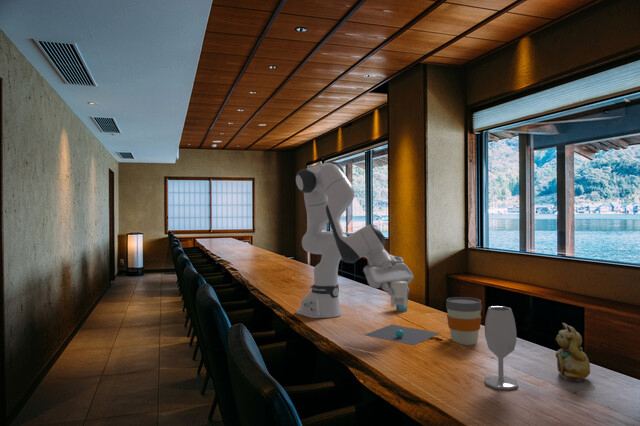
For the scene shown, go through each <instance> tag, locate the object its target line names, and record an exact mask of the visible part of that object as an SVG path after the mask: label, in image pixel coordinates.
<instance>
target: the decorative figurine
mask: <svg viewBox="0 0 640 426" xmlns="http://www.w3.org/2000/svg"><path fill="white" fill-rule="evenodd" d="M561 325H562V327H563V329H561V330H559V331H558V334H557V335H556V337H555V341H556V342H557V345H559V347H561V348H560V349H558V350H557V351H556V353H555V358H556V366H557V371H558V372H559V375H560V376H561V377H562V378H563V379H564V380H565V381H574V382H585V381H584V379H585V378H588V377H589V375H590V374H591V364H590V359H589V358H588V356H587V354H586V353H585V352H584V351H583V347H582V346H581V345H582V344H583V337H582V335H581V334H580V333H579V332H578V331H577V330H576V329H575V328H574V327H573V326H571V325H568V324H567V323H564V322H561Z"/></svg>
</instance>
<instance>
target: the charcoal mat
mask: <svg viewBox="0 0 640 426" xmlns="http://www.w3.org/2000/svg"><path fill="white" fill-rule="evenodd" d="M397 330H402V331H403V333H404V335H403V337H402V338H398V337H397V336H396V331H397ZM440 334H441V333H440V332H438V331H437V332H436V331H430V330H426V329H419V328H413V327H409V326H404V325H403V326H402V325H397V324H389V325H387V326H384V327H381V328H378V329H376V330H373V331H371V332H368V333H365V334H364V336H366V337H371V338H376V339H377V338H378V339H382V340H386V341H390V342H397V343H401V344H406V345H411V346H416V345H418V344H420V343H422V342H425V341H427V340H429V339H431V338H433V337H436V336H437V335H440Z"/></svg>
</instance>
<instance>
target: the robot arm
mask: <svg viewBox="0 0 640 426" xmlns="http://www.w3.org/2000/svg"><path fill="white" fill-rule="evenodd" d="M295 183H296V187H297V188H298V190H299V191H300V192H301V193H302V194H303V199H304V206H305V209H306V210H305V211H306V216H307V229H306V231H305V232H306V233H304V235H303V236H302V239H301V246H302V249H303V250H304V251H305V252H308V253H309V254H312V255H321V258H320V262H319V263H317V264H316V265H315V266H314V267H313V284H312V285H311V286H309V289H311V291H310V292H309V293H308V294H307V295H306V296H305V297H304V298H303V299H302V300H301V302H300V308H299V309H297V310H296V311H295V314H297V315H301V316H304V317H308V318H311V319H323V318H325V319H327V318H330V319H331V318H336V317H339V316H342V311H341V306H340V305H341V304H340V300H339V299H340V298H339V292H340V288H339V286H340V285H339V282H338V280H339V279H338V278H339V273H338V272H339V264H340V262H341V261H343V262H344V263H347V264H354V263H356V262H357V261H359V260H360V259H361V258H362V257H364V258H366V259H367V262H368V265H364V267H363V270H362V272H363V273H364V275H365V278H366V281H367V283H368V285H369V286H370V287H371V288H372V289H377V288H378V289H379V288H381V289H382V290H383V291H385V292H386V293H387V294H388V295H389V296H391V295H393V294H394V291H393V289H391V282H394V281H406V282H407V293H408V294H409V292H410V287H409V284H411V282H412V281H413V280H414V277H415V276H414V273H413V272H412V270H411V269H410V268H409V267H408V265H407V264H405V260H404V259H403V257H400V256H396V255H392V254H390V253H389V252H388V251H387V250H386V248H385V244H386V237H385V236H384V234H383V233H382V232H381V230H380V228H379V226H378V225H375V224H367V225H365V226H363V227H362V228H359V230H357V231H355V232H353V233H351V234H349V235H347V234H346V233H344V232H343V228H342V226H341V221H340V220H341V217H342V215H343V214H344V212H345V211H347V209H348V208H349V207H350V205H352V203H353V201H354V198H355V189H354V186H353V184H352V183H351V181H350V179H349V177H347V175H346V174H345V171H344V167H343V166H342V164H341V163H340V162H338V161H329V162H324V163H317V164H316V165H312V166H310V167H307V168H302V169H300V170H299V171H297V173H296V175H295ZM328 223H329V225H330V229H331V231H327V224H328ZM408 283H409V284H408Z"/></svg>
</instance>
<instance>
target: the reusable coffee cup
mask: <svg viewBox="0 0 640 426" xmlns="http://www.w3.org/2000/svg"><path fill="white" fill-rule="evenodd" d="M482 305H483V304H482V300H481V299H479V298H475V297H467V296H466V297H465V296H463V297H462V296H460V297H459V296H455V297H447V299H446V303H445V307H446V310H447V314H446V318H447V325H448V328H449V331H450V338H451V339H450V340H451V341H452V342H454V343H457V344H458V345H462V346H463V345H465V346H472V345H476V344H477V343H478V340H479V331H480V330H481V324H482V315H481V312H482V310H483V306H482Z"/></svg>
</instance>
